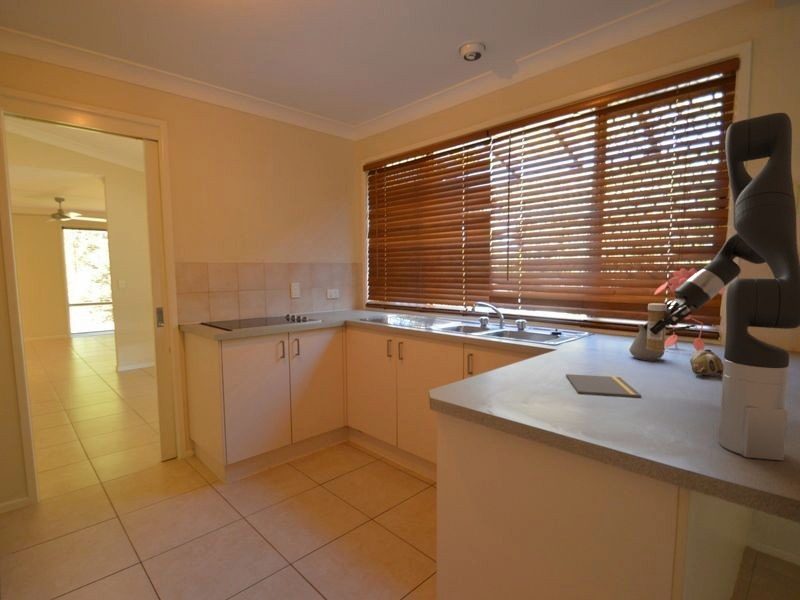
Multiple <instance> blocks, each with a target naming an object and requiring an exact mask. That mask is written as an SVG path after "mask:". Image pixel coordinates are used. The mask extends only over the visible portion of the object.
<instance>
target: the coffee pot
mask: <svg viewBox="0 0 800 600" xmlns="http://www.w3.org/2000/svg"><path fill="white" fill-rule="evenodd" d="M644 325H645V324H638V325H637V327H639V331H638V333H637V335H636V336H635V338H634V340H633V341H632V344H631V346H630V347H629V349H628V350H629V353H630V354H631V355H632V356H633V357H634V359H637V360H641V361H642V360H643V361H648V362H649V361H653V362H655V361H658V360H659V359H661V358H662V357H664V354H665V350H664V351H651V350H648V349H647V348H646V347H647V331H646V330H645V329H644V328H643V326H644ZM690 328H694V330H697V329H698V326H697V325H696V324H690V325H689V324H688V325H686V326H679V327H676V328H675V327H674V329H673V328H672V329H669V330H666V331H665V334H668V333H669V334H670V333H673V332H674V333H675V332H680V331H684V330H686V329H690Z"/></svg>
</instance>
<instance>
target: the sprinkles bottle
mask: <svg viewBox="0 0 800 600" xmlns="http://www.w3.org/2000/svg"><path fill="white" fill-rule="evenodd" d="M647 311H648V316H647V322H648V328H647V347H646V348H647V349H648V350H651V351H664V352H665V351H666V348H665V342H666V333H665V331H667V330H666V327H665V328H664V329H662V330H661V331H660V332H659V333H658V334H653V333H652V332H651V331H650V330H649V329H650V328H651V327H652V326H653V325H654V324H655V323H657V322H658V321H659V320H660V321H661V318H662V317H663V316H664V315H665V312H666V311H667V305H666V304H663V303H658V302H657V303H656V302H653V303H648V305H647Z"/></svg>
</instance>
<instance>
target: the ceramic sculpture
mask: <svg viewBox="0 0 800 600" xmlns="http://www.w3.org/2000/svg"><path fill="white" fill-rule="evenodd" d="M689 362H690V365H691V370H692V372H693V373H694V374H695V375H698V376H701V375H703V376H708V377H713V376H718V375H721V376H722V377H723V366H724V362H723V361H722V358H720V357H719V356H718V355H717V354H715V353H714V351H712V350H711V349H700V350H699V351H697V350H696V351H695V353H694V354H692V355H691V357H690V359H689Z"/></svg>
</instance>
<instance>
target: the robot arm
mask: <svg viewBox="0 0 800 600" xmlns="http://www.w3.org/2000/svg"><path fill="white" fill-rule="evenodd" d="M791 121H792V120H791V119H790V116H789V115H788V114H787V113H786V112H774V113H769V114H765V115H760V116H756V117H752V118H747V119H742V120H739V121H738V120H737V121H736V122H733V123H731V124H730V125H729V126H728V128H727V129H726V134H725V142H724V143H725V148H724V149H725V155H726V156H725V159H726V165H727V172H728V178H729V183H730V184H729V185H730V189H731V194H732V202H733V205H732V206H733V229H734V230H735V231H736V232H735V233H733V234H732V235H730V236H729V238H728V239H727V240H726V241H725V243H724V244H723V246H722V247H721V249H720V250H719V251H718V252H717V254H716V255H715V257H714V258H713V260H711V261H710V262H708V264H706V265H705V266H704V267H702V268H701V270H699V271H696V274H694V275H693V276H692V277H690V278H689V279H688V280H687V281H686V282H684V283H683V284H682V285H681V286H680V287H678V288H677V289H676V290H674V293H673V294H674V296H675V298H673V300H670V301H668V302H667V301H664V302H663V303H662V304H666V305H667V311H666V312H665V315H664V316H663V317H662V318H661V321H660V320H659V321H658V322H657V323H655V324H654V325H653V326H652V327H651V328H650V329H649V330H650V331H651V332H652V333H653V334H658V333H659V332H660V331H661V330H662V329H664V328H665V329H666V327H669V326H672V327H673V325H674V326H675V325H676V324H678V323H680V322H681V321H682V320H683V319H684V318H685V317H687V316H689V315H692V314H693V311H698V310H699V309H700V308H701V307H703V306H704V305H706V304H707V303H708V302H709V301H711V300H712V299H713V298H714V297H715V296H717V295H718V294H719V292H720V291H721V289H722V288H723V287H724V288H725V287H726V286H727V285H728V284H729V285H728V286H727V290H726V300H725V303H726V304H725V313H726V314H725V316H726V319H725V321H726V323H725V324H726V325H725V327H726V328H725V343H724V354H723V365H724V366H723V376H722V381H721V395H720V396H721V397H720V406H719V407H720V410H719V420H718V421H719V422H718V423H719V424H718V439H717V441H718V443H719V445H720V446H722V447H723V448H725V449H726V450H729V451H731V452H733V453H736V454H739V455H740V456H742V457H744V458H753V459H762V460H770V461H771V460H774V461H784V457H785V447H786V435H787V424H788V423H787V422H788V411H787V409H786V398H787V385H788V377H789V376H788V375H789V366H790V365H789V364H790V353H789V351H787V350H786V349H784V348H782V347H779V346H777V345H773V344H771V343H767V342H765V341H762V340H760V339H758V338H756V337H754V336H753V335H752V334H751V333H750V332H749V330H748V329H749V327H750V328H751V327H752V328H767V329H781V330H783V329H786V330H789V329H796V328H799V327H800V257H799V249H798V239H797V237H798V236H797V230H798V228H797V207H796V206H797V205H796V197H795V191H794V183H793V173H792V150H793V148H792V147H793V144H792V143H793V125H792V122H791ZM766 158H768V159H767V162H766V164H765V165H764V166H763V168H762V169H761V170H760V172H759V173H758V174H757V175H756V176H755V177H754V178H753V177H752V176H751V175H750V174H749V173H748V171H747V169H746V166H745V164H744V163H745V162H748V161H750V162H751V161H756V160H760V159H766ZM735 258H739V259H742V260H744V261H746V262H749V263H752V264H754V265H759V264H760V265H761V264H765V263H766V264H767V266H768V267H769V268H770V270H771V272H772V275H773V277H774V278H737V277H738V276H739V275H740V274H741V272H742V271H741V267H740V266H739V265H738V263H736V261H734V260H735ZM643 325H644V326H643V328H644V329H645V330H646V331H647V328H648V321H647V322H646V323H645V324H643Z"/></svg>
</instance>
